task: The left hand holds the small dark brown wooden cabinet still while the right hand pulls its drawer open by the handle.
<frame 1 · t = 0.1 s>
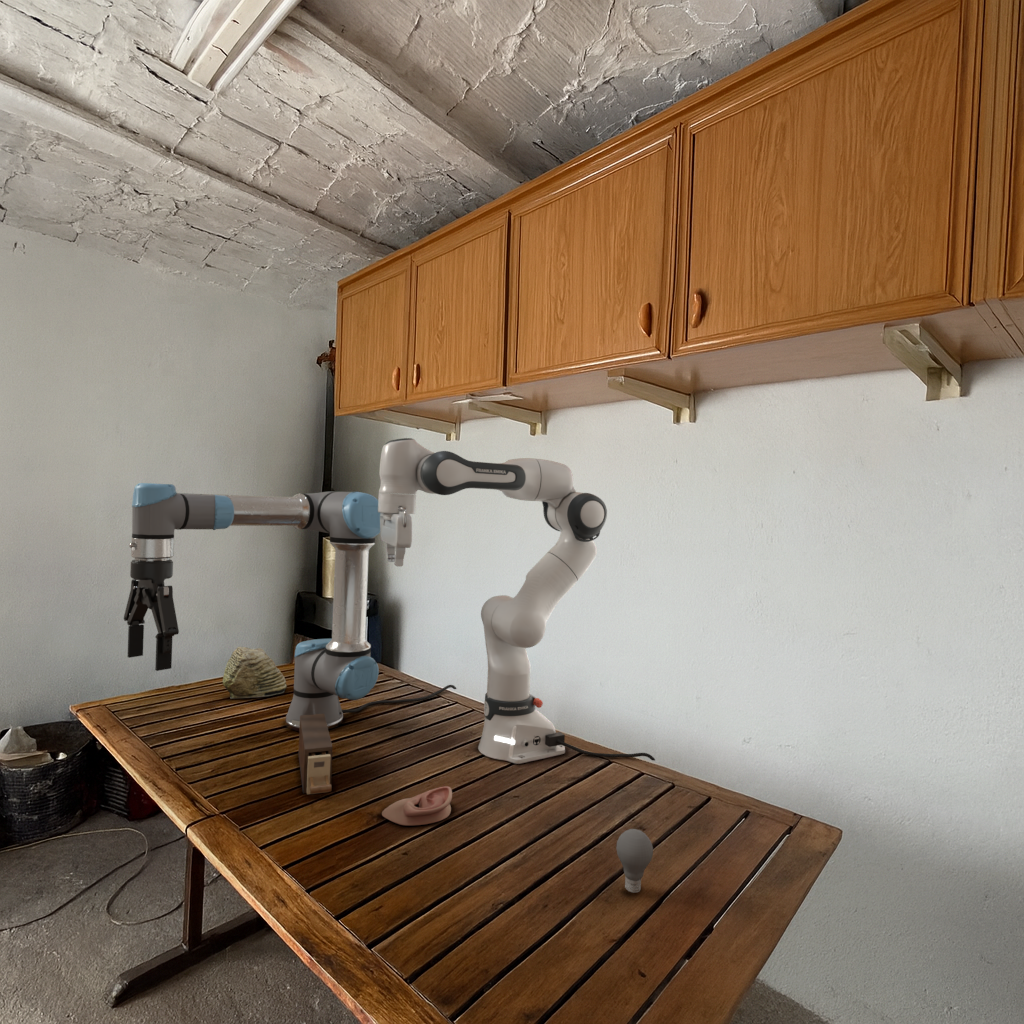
left hand: (148, 662, 129), 28 cm above the table, tool pointing down, fingers open, 13 cm apart
right hand: (394, 563, 151), 48 cm above the table, tool pointing down, fingers open, 8 cm apart
anatomical model: (417, 813, 129), on the table
cabinet: (313, 771, 146), on the table
fossil: (254, 694, 198), on the table
drawer: (316, 761, 140), point 5 cm above the table, slide at 1.5 cm
light bulb: (632, 891, 106), on the table
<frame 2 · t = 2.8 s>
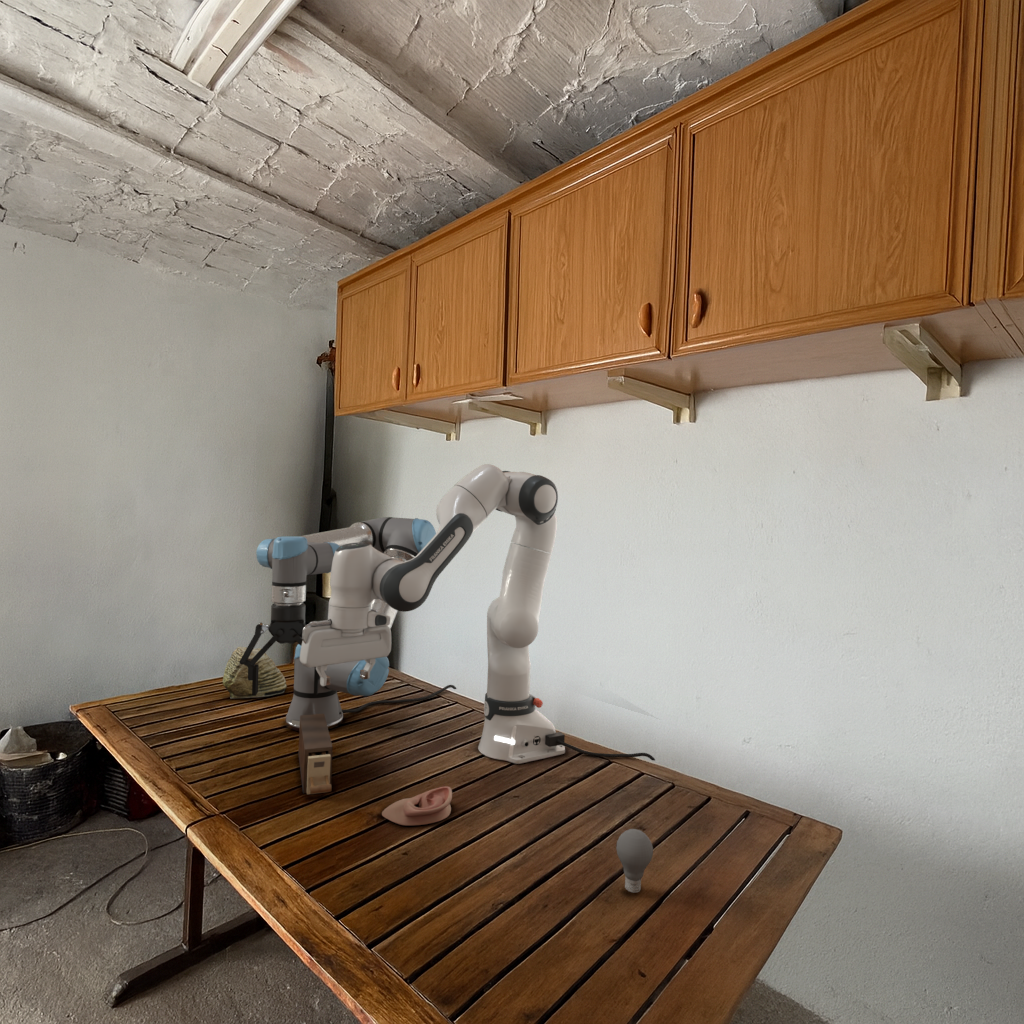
left hand: (285, 693, 148), 17 cm above the table, tool pointing down, fingers open, 13 cm apart
right hand: (345, 681, 136), 24 cm above the table, tool pointing down, fingers open, 8 cm apart
nothing on the table moved.
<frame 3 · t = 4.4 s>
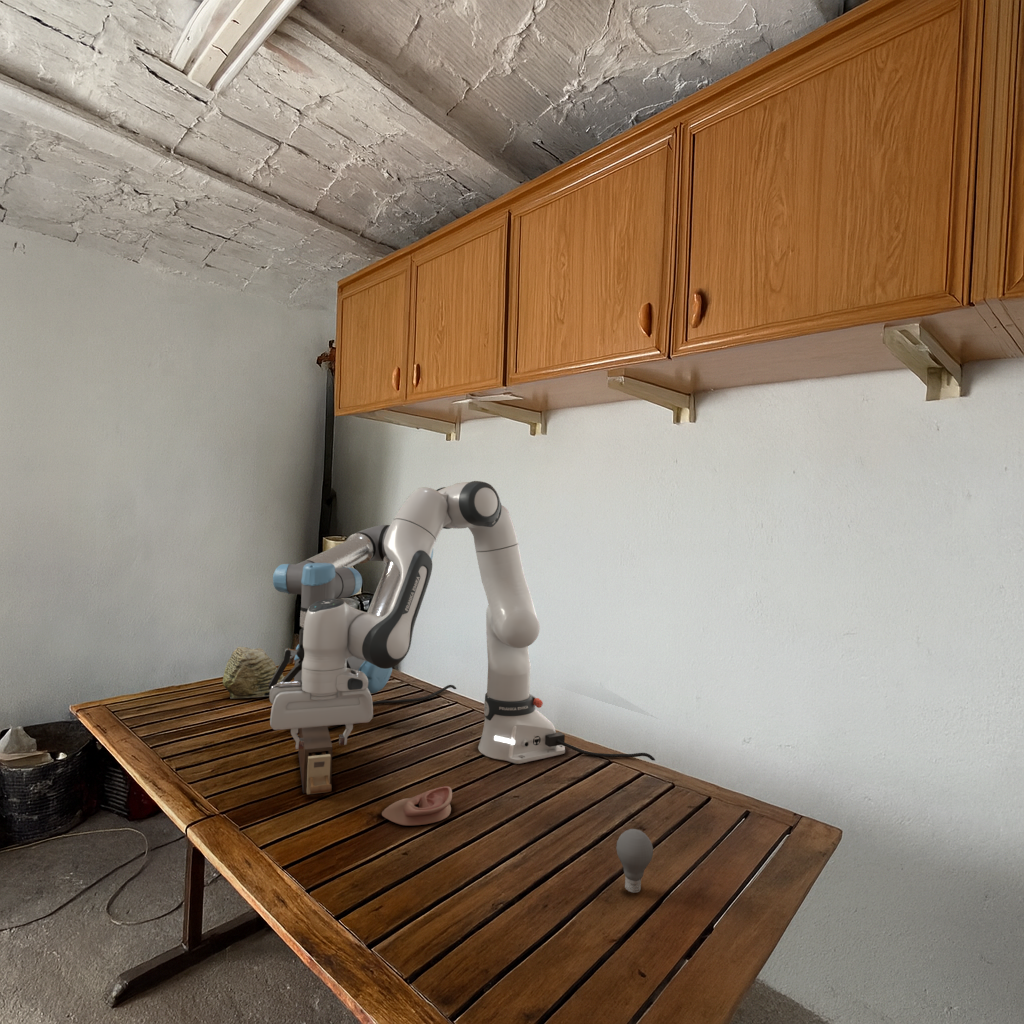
left hand: (312, 716, 152), 10 cm above the table, tool pointing down, fingers open, 13 cm apart
right hand: (321, 746, 130), 12 cm above the table, tool pointing down, fingers open, 7 cm apart
nothing on the table moved.
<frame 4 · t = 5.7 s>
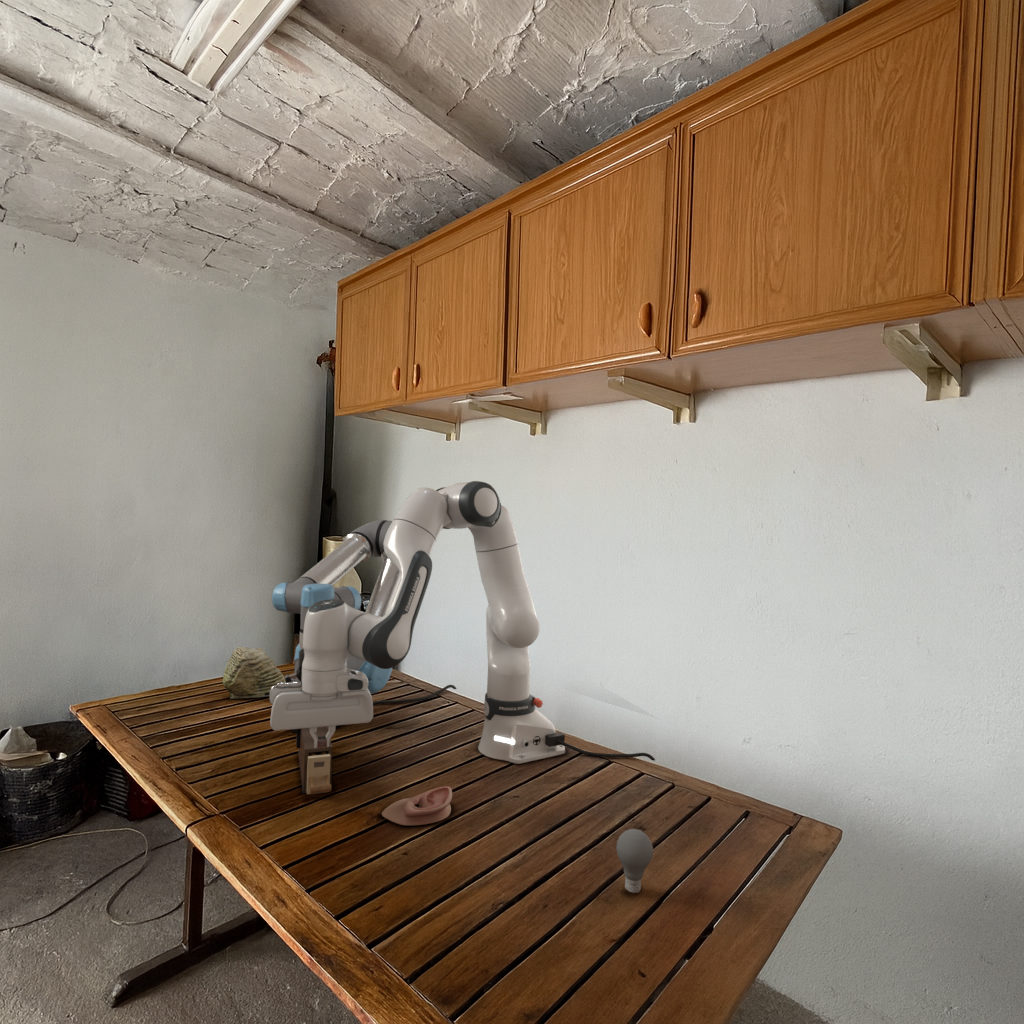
left hand: (312, 744, 152), 4 cm above the table, tool pointing down, fingers closed on cabinet, 6 cm apart
right hand: (321, 746, 130), 12 cm above the table, tool pointing down, fingers closed
cabinet: (313, 771, 146), on the table, touching left hand
everything else where it was.
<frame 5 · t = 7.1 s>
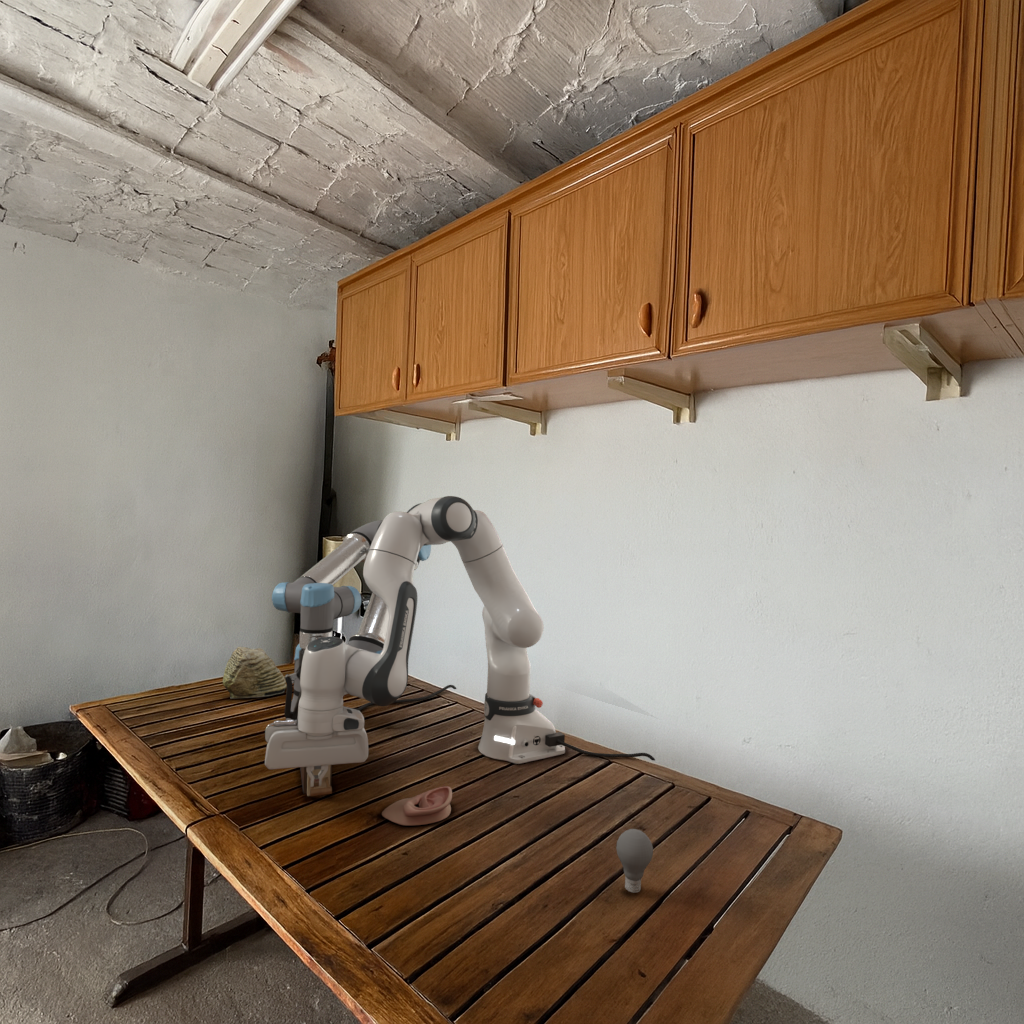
left hand: (312, 744, 152), 4 cm above the table, tool pointing down, fingers closed on cabinet, 6 cm apart
right hand: (315, 785, 130), 4 cm above the table, tool pointing down, fingers closed, pressing on drawer
cabinet: (313, 770, 146), on the table, touching left hand
drawer: (316, 762, 139), point 5 cm above the table, slide at 2.0 cm, touching right hand
everything else where it was.
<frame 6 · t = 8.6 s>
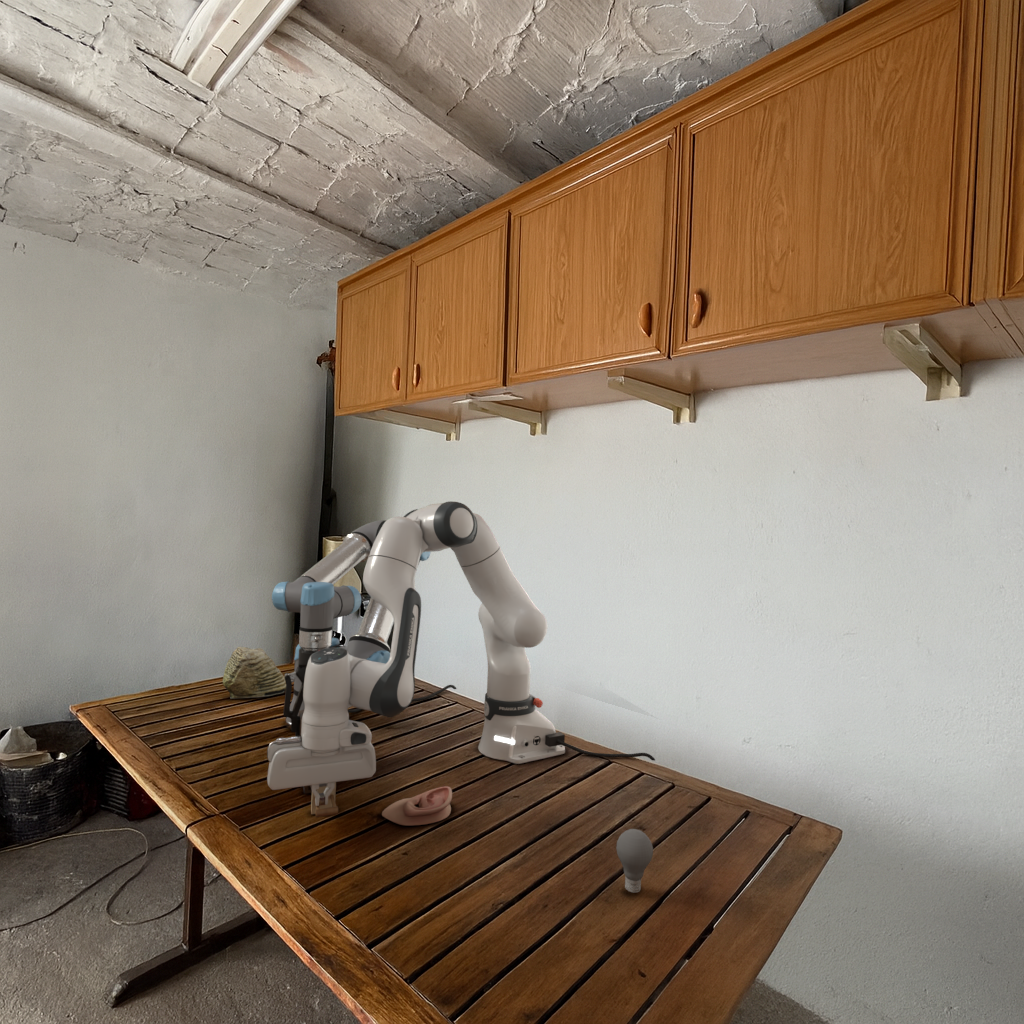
left hand: (311, 743, 152), 4 cm above the table, tool pointing down, fingers closed on cabinet, 6 cm apart
right hand: (321, 804, 123), 4 cm above the table, tool pointing down, fingers closed, pressing on drawer
cabinet: (313, 767, 146), point 1 cm above the table, touching left hand
drawer: (320, 776, 133), point 5 cm above the table, slide at 8.4 cm, touching right hand
everything else where it was.
when the left hand's fingers open (4 cm above the table, at t = 10.1 s): cabinet stays where it is, on the table.
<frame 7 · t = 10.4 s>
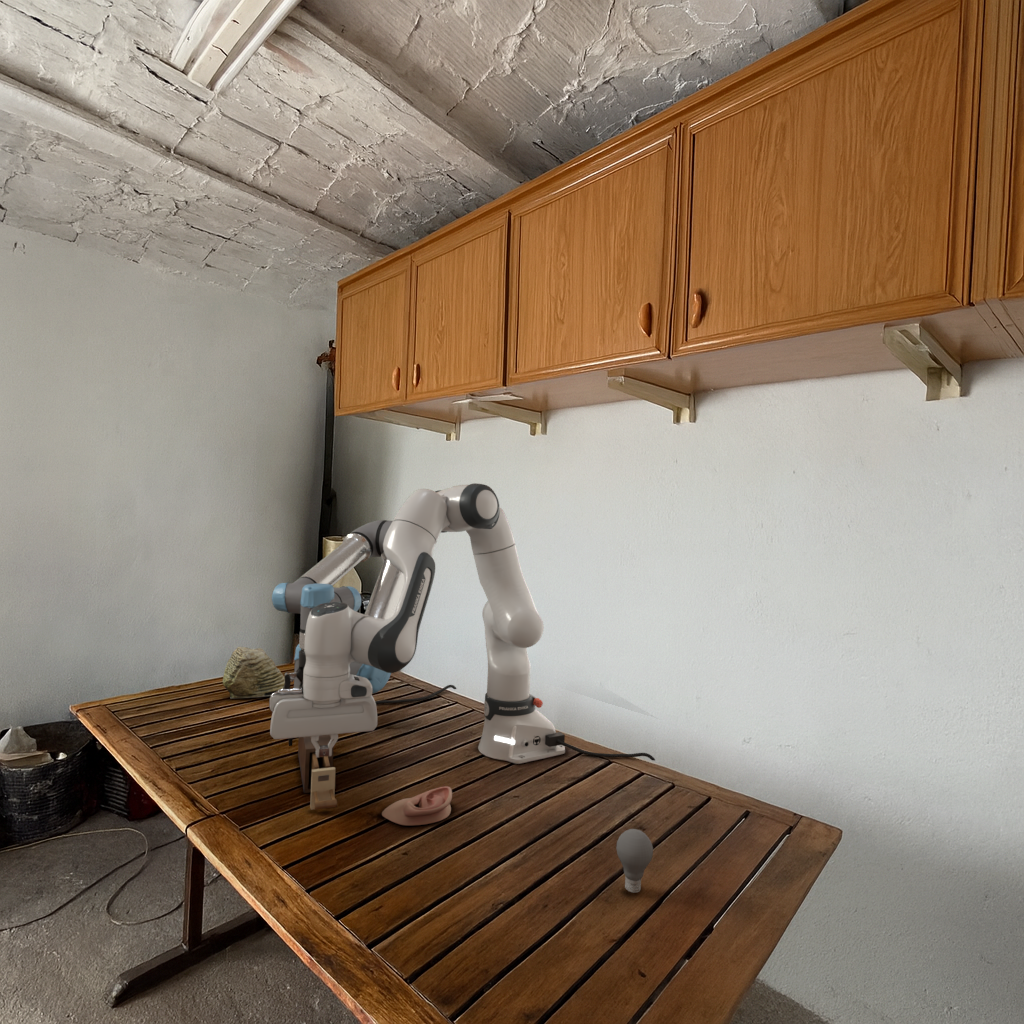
left hand: (312, 741, 152), 4 cm above the table, tool pointing down, fingers open, 9 cm apart
right hand: (323, 755, 125), 12 cm above the table, tool pointing down, fingers closed
cabinet: (313, 770, 146), on the table
drawer: (319, 774, 134), point 5 cm above the table, slide at 8.4 cm
everything else where it was.
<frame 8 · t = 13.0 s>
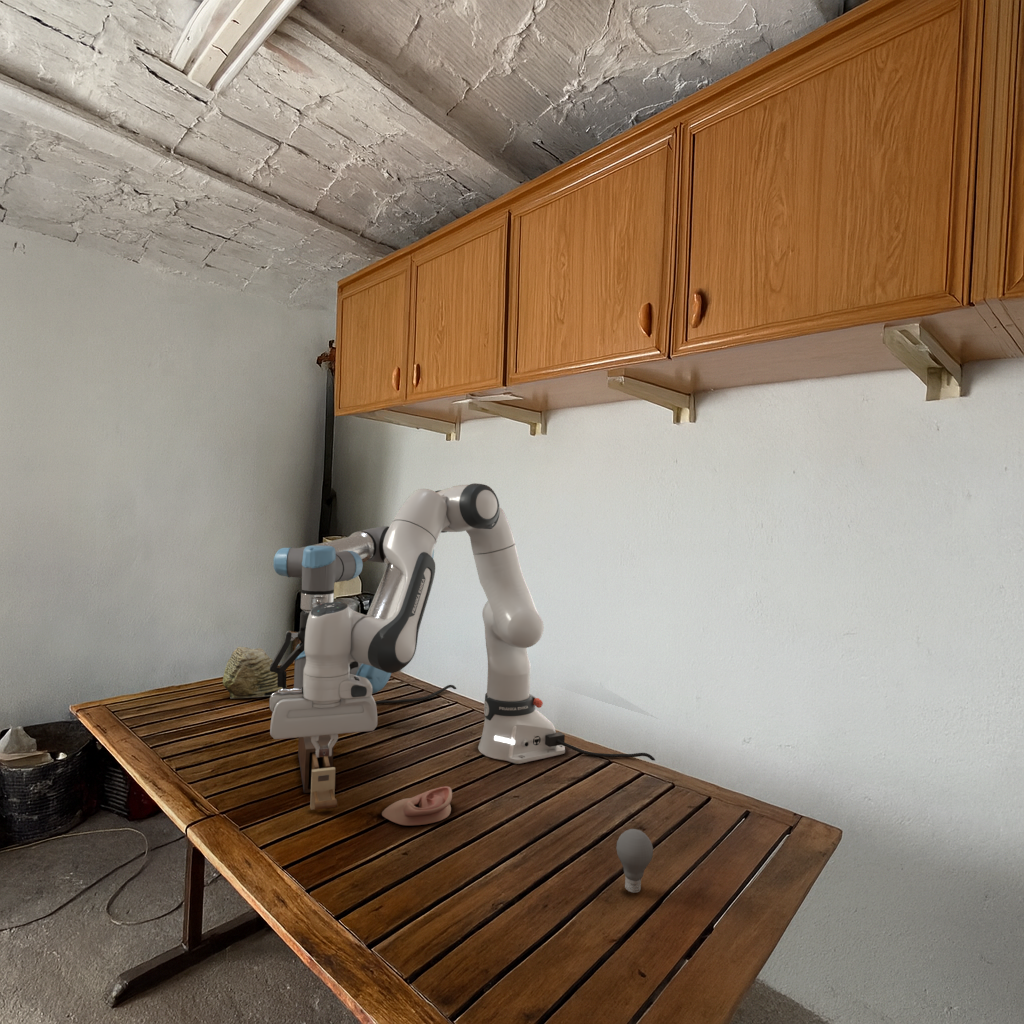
left hand: (313, 698, 152), 15 cm above the table, tool pointing down, fingers open, 13 cm apart
right hand: (323, 755, 125), 12 cm above the table, tool pointing down, fingers closed
nothing on the table moved.
at the end: drawer slide at 8.4 cm; cabinet tilted 0°; cabinet never tilted more than 5° during the clip; cabinet moved 0.1 cm from its start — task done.
